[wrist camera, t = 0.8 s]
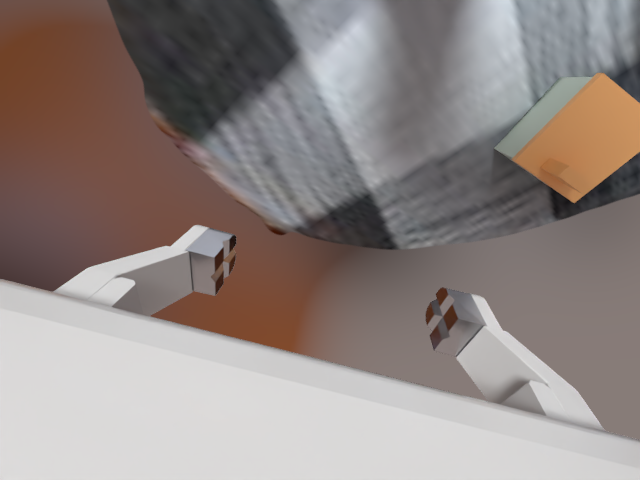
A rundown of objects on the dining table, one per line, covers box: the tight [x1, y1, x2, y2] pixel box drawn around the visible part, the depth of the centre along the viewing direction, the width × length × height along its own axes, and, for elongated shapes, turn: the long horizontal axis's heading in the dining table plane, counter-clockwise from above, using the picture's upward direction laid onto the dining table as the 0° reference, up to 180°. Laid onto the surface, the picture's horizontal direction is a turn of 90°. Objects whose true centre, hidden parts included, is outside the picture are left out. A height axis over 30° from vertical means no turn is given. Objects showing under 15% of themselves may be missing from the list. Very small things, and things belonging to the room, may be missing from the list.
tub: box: [494, 77, 593, 185], centre depth 40 cm, size 12×12×7 cm
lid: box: [511, 73, 640, 203], centre depth 35 cm, size 13×13×6 cm
